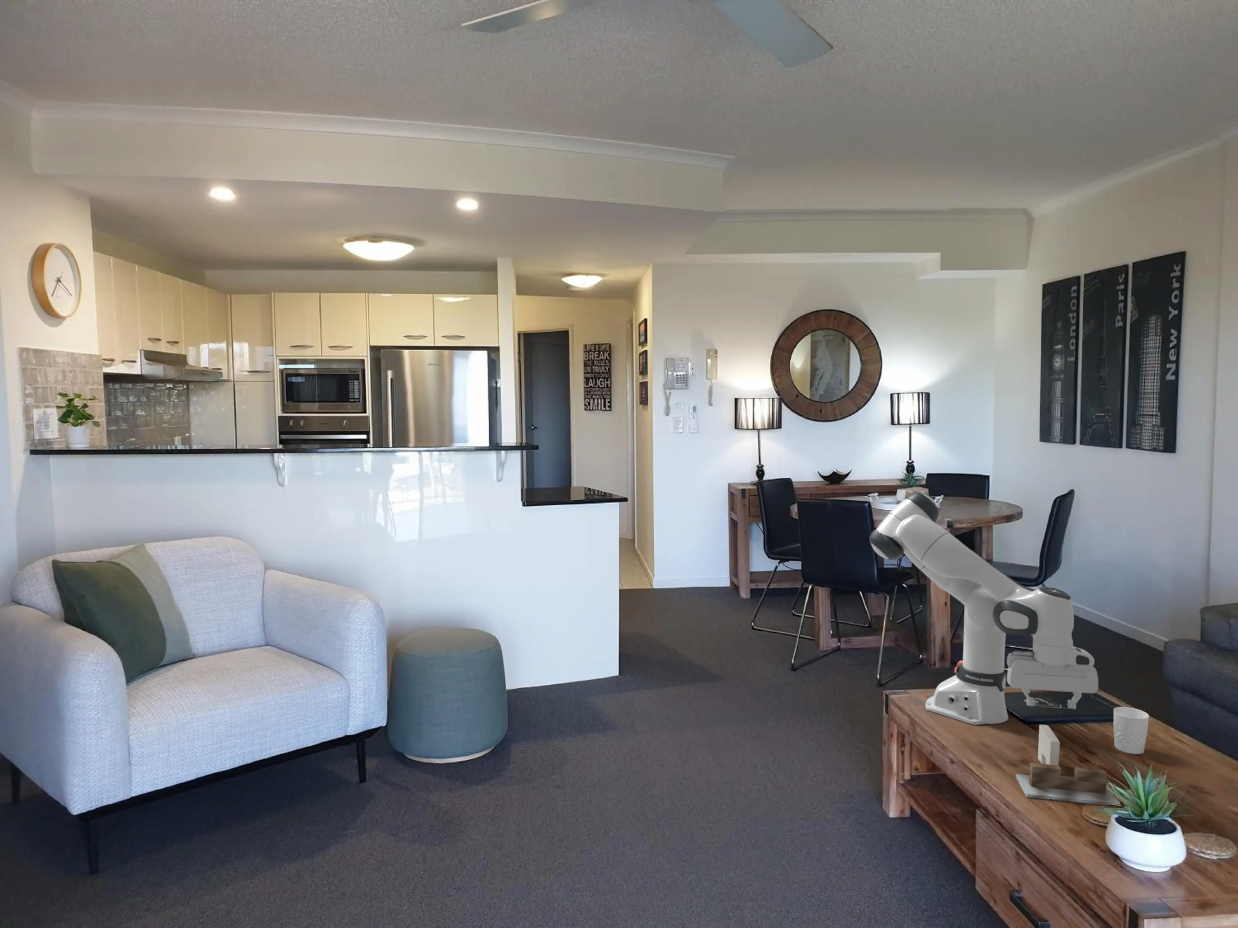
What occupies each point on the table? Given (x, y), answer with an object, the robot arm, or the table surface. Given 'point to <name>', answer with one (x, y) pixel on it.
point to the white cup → (1130, 729)
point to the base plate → (1067, 785)
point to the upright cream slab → (1048, 746)
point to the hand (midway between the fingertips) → (1050, 706)
